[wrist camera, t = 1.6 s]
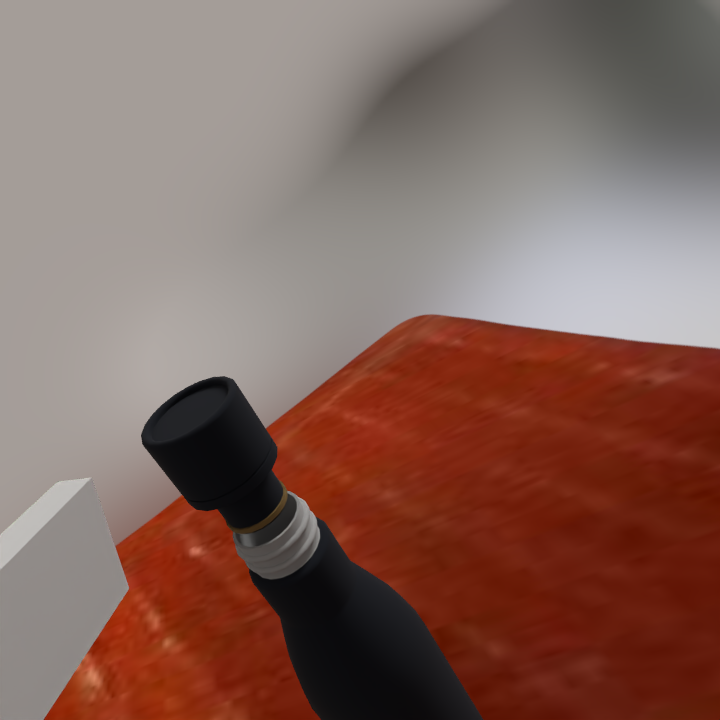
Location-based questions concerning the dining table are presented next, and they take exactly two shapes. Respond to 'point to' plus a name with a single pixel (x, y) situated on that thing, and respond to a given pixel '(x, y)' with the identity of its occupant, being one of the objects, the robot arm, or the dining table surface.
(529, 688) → the dining table surface
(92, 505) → the robot arm
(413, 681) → the black metal bottle
